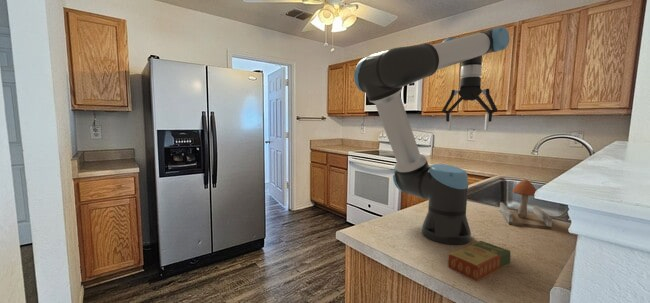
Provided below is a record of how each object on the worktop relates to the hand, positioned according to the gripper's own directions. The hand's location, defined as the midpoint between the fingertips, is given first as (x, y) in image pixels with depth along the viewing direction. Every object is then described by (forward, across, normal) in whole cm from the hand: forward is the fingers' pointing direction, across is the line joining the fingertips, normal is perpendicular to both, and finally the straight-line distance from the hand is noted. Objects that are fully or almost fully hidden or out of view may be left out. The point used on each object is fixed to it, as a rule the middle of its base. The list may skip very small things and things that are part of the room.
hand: (467, 129), depth 116 cm
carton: (+35, 0, +48) cm, 60 cm away
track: (+35, -21, +3) cm, 41 cm away
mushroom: (+34, -21, +3) cm, 40 cm away
